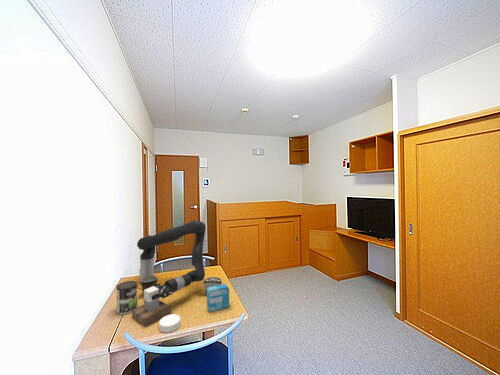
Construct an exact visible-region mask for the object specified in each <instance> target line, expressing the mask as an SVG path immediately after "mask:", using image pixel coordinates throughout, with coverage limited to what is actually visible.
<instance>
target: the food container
mask: <svg viewBox="0 0 500 375" xmlns="http://www.w3.org/2000/svg"><path fill="white" fill-rule="evenodd" d="M222 280H223V279H222V278H220V277H218V276H217V277H216V276H210V277H206V278H205V279H203V280H202V284H203V288H204V296H205V297H207V288H209V287H212V286H217V285H222V284H223V281H222Z"/></svg>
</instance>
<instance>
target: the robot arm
mask: <svg viewBox="0 0 500 375" xmlns="http://www.w3.org/2000/svg"><path fill="white" fill-rule="evenodd" d="M191 234H192V235H194V234H195V243H194V245H193V248H192V252H191V265H192V267H194V269H193V270H190V271H189V272H187V273H185V274H182V275H180V276H175V277H173V278H171V279H168V280H165V282H164V284H161V283H157V284H156V285H153V286H154V287H156V288H158V289H159V293H158V294H155V295H153V296H152V300H155V299H157V298H159V299H161V298H162V299H165V298H167V297H169V296H172V295H173V293H174V294H175V293H176V292H178V291H181V290H182V289H183V288H186V287H188V286H190V285H191V284H192V283H193V282H194V283H195V282H203V281H204V280H205V279H204V278H205V275H206V273H205V267H204V264H203V254H204V253H203V252H204V250H203V249H204V242H205V234H206V224H205V223H204V222H203V221H200V220H199V219H198V220H195V219H194V220H191V221H189V222H187V223H184V224H182V225H179V226H175V227H172V228H168V229H166V230H163V231H161V232H158V233H155V234H153V235H145V236H142V237H141V238H139V239H138V241H137V243H136V245H137V248H138V249H139V250H141V251H142V253H141V254H140V257H139V258H140V259H139V262H140V267H139V283H141V279H142V278H144V277H147V276H155V254H156V246H159V245H164V244H169V243H172V242H176V241H177V240H180V239H181V238H182V237H184V236H186V235H191ZM153 286H150V287H153Z"/></svg>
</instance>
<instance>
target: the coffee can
mask: <svg viewBox="0 0 500 375" xmlns="http://www.w3.org/2000/svg"><path fill="white" fill-rule="evenodd" d="M137 284H138V282H137V280H128V281H123V282H120V283H119V284H117V285H116V287H115V288H116V313H117V314H119V315H127V314H129V313H132V309H135V308H137V307H138V288H137Z"/></svg>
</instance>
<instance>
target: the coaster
mask: <svg viewBox="0 0 500 375" xmlns="http://www.w3.org/2000/svg"><path fill="white" fill-rule="evenodd" d="M181 321H182V320H181V316H180V315H178V314H174V313H173V314H170V315H167V316H165V317H163V318H162V319H160V320H158V322H159V323H158V329H159V331H160V332H162V333H172V332H175V331H177V330H178V329H179V328H180V326H181Z"/></svg>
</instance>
